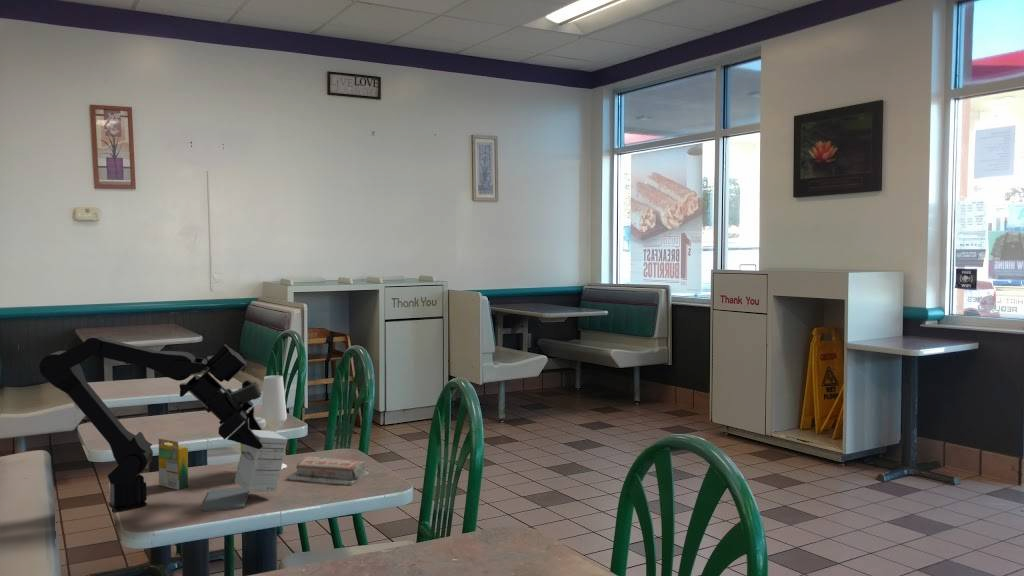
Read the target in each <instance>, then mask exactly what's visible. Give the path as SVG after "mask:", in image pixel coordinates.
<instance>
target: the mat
mask: <svg viewBox="0 0 1024 576" xmlns="http://www.w3.org/2000/svg"><path fill="white" fill-rule="evenodd" d="M249 494H250V492H249V491H247V490H246V489H245V488H243V487H242V486H240V487H224V488H211V489H209V491H208V493H207V495H206V497H205V500H204V502H203V504H202V506H201V507H200V511H201V512H202V511H204V512H205V511H220V510H231V509H232V510H233V509H234V510H235V509H245V506H246V503H247V500H248V497H249Z"/></svg>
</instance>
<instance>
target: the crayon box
mask: <svg viewBox="0 0 1024 576" xmlns="http://www.w3.org/2000/svg"><path fill="white" fill-rule="evenodd" d="M165 443H166V444H165ZM158 486H159V487H165V488H168V489H169V488H171V489H173V490H176V491H179V490H183V489H185V488H188V487H189V447H187V446H181V445H179V441H174V440H169V439H164V438H158Z"/></svg>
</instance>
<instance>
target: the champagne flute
mask: <svg viewBox="0 0 1024 576" xmlns="http://www.w3.org/2000/svg"><path fill="white" fill-rule="evenodd" d="M284 386H285V383H284V377H283V375H279V374H278V375H275V374H274V375H266V376H263V386H262V394H261V400H262V401H261V406H260V407H261V408H260V416H262V417H264V419H265V421H266V429H268V431H273V432H275V433H277V431H278V430H279V429H280V428H281V427H282V426H283V425H284V424H285V423H286V420H287V419H288V416H287V407H286V396H285V387H284ZM287 467H288V465H287V464H285V463H284V462H282V467H281V470H283V468H284V469H285V468H287Z"/></svg>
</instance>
